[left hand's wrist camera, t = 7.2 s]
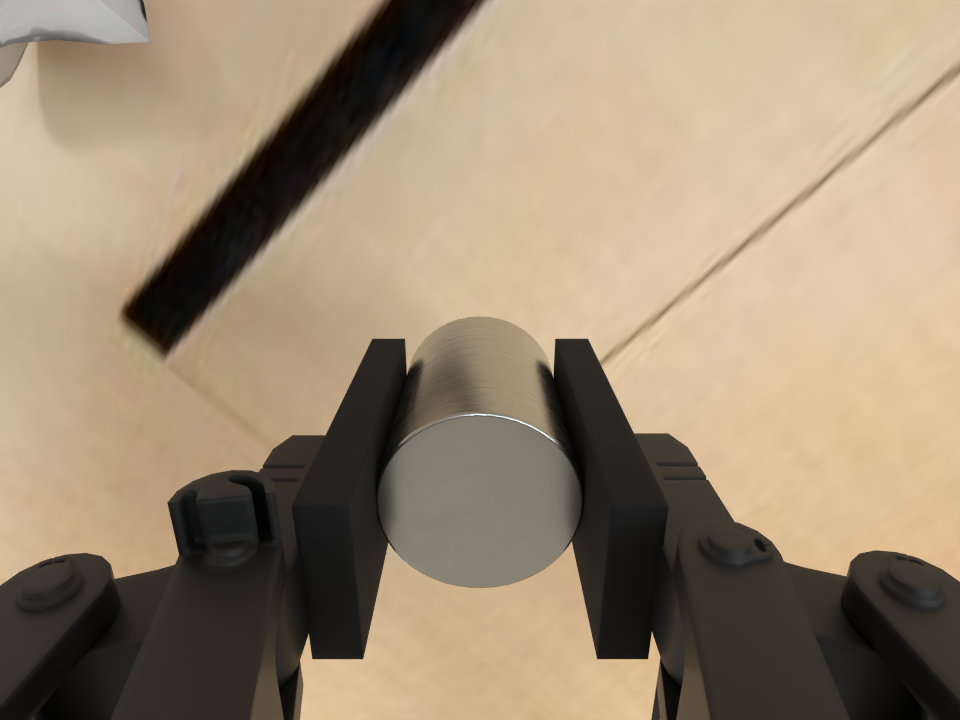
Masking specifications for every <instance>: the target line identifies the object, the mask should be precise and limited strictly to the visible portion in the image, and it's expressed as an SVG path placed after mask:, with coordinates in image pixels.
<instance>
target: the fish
mask: <svg viewBox="0 0 960 720" xmlns="http://www.w3.org/2000/svg"><path fill="white" fill-rule="evenodd" d="M55 39H57V40H67V41H78V42H88V43H98V44H115V43H141V42H150V37H149V31H148V25H147V19H146V13H145V7H144V3H143V1H142V0H0V88H1V87H2V86H3V85H4V84H6V83H7V82H8V81H9V80H10V79H11V77H12V76H13V74H14V72H15V70H16V68H17V66H18V65H19V63H20V60H21V58H22V56H23V54H24V51H25V49H26V47H27V44H28V42H35V41H45V40H55Z"/></svg>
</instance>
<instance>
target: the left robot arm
mask: <svg viewBox="0 0 960 720" xmlns="http://www.w3.org/2000/svg"><path fill="white" fill-rule="evenodd" d="M406 377H407V371H406V350H405V339H372V341H371V343H370V345H369V347H368V349H367V351H366V353H365V355H364V357H363V359H362V362H361V364H360V366H359V368H358V370H357V372H356V374H355V376H354V378H353V380H352V382H351V384H350V386H349V388H348V390H347V393H346V395H345V397H344V399H343V401H342V403H341V405H340V407H339V409H338V411H337V413H336V415H335V417H334V419H333V421H332V423H331V426H330V428H329V430H328V432H327V434H326V435H293V436H291V437H290V438H288V439H287V440H285V441H284V442H283V443H281V444H280V445H278V446H277V447H276V448H274V449H273V450H272V452H271V453H270V455H269V457H268V458H267V460H266V461H265V463H264V465H263V469H260V471H259V473H257V472H254V471H247V470H231V471H226V472H220V473H215V474H211V475H208V476H205V477H203V478H200V479H197V480H195V481H192V482H191V483H189V484H188V485H186V486H185V487H183V488H181V489H180V490H178V491H177V492H176V493H175V494H174V496H173V497H172V498H171V499H170V500H169V502H168V507H169V511H170V516H171V520H172V525H173V529H174V533H175V538H176V542H177V547H178V551H179V557H178V559H177V562H176V564H175V565H173V566H170V567H166V568H162V569H159V570H155V571H150V572H145V573H141V574H136V575H131V576H127V577H122V578H117V579H115V578H114V575H113V571H112V568H111V564H110V563H108V562H107V561H106V560H105V559H104V558H103V557H102V556H98V555H93V554H88V553H81V554H69V555H63V556H59V557H55V558H51V559H48V560H45V561H42V562H39V563H38V564H36V565H33V566H31V567H29V568H27V569H25V570H23V571H21V572H19V573H17V574H16V575H15V576H13V577H12V578H10V579H9V580H8V581H6V582H5V583H3V584H2V585H1V586H0V720H300V713H301V703H302V693H303V679H302V672H301V665H300V658H301V655H302V652H303V649H304V646H305V643H306V640H307V637H308V634H309V637H310V645H311V652H312V659H363V657H364V653H365V648H366V643H367V639H368V634H369V629H370V625H371V620H372V616H373V611H374V606H375V602H376V597H377V592H378V588H379V583H380V578H381V574H382V569H383V564H384V560H385V555H386V551H387V546H388V541H387V539H386V537H385V535H384V533H383V531H382V529H381V527H380V524H379V521H378V517H377V508H376V485H377V481H378V478H379V474H380V470H381V467H382V463H383V460H384V456H385V453H386V449H387V445H388V442H389V438H390V435H391V431H392V428H393V424H394V420H395V417H396V413H397V410H398V406H399V403H400V399H401V395H402V392H403V388H404V385H405V381H406ZM554 382H555V386H556V390H557V393H558V397H559V400H560V404H561V408H562V411H563V415H564V418H565V422H566V425H567V429H568V433H569V436H570V440H571V443H572V447H573V451H574V454H575V458H576V461H577V465H578V468H579V472H580V476H581V479H582V484H583V490H584V507H583V515H582V518H581V522H580V525H579V527H578V530H577V532H576V534H575V536H574V538H573V540H572V544H573V549H574V553H575V558H576V563H577V567H578V572H579V577H580V581H581V586H582V590H583V595H584V600H585V604H586V609H587V614H588V618H589V623H590V628H591V632H592V637H593V641H594V646H595V651H596V655H597V659H648V655H649V648H650V640H651V633H653V636H654V639H655V642H656V645H657V648H658V651H659V654H660V657H661V658H660V665H659V672H658V679H657V686H656V692H655V699H654V706H653V713H652V720H960V582H959V581H958V580H956V579H955V578H953V577H952V576H951V575H949V574H948V573H946V572H945V571H944V570H942V569H940V568H938V567H936V566H934V565H932V564H929V563H927V562H925V561H923V560H921V559H919V558H916V557H913V556H908V555H906V554H901V553H897V552H888V551H876V550H875V551H870V552H865V553H861V554H859V555H858V556H856V557H855V558H854V559H853V560H852V561H851V562H850V566H849V570H848V573H847V577H846V576H841V575H837V574H832V573H827V572H823V571H818V570H813V569H808V568H804V567H800V566H797V565H793V564H790V563H786V562H784V561H783V558H782V556H781V554H780V553H779V551H778V550H777V548H776V547H775V546H774V544H773V543H772V542H771V541H770V540H769V539H767V538H766V537H765V536H763V535H762V534H761V533H759V532H758V531H756V530H754V529H751V528H749V527H747V526H745V525H742V524H740V523H736V522H734V520H733V519H732V517H731V516H730V514H729V512H728V511H727V509H726V508H725V506H724V504H723V503H722V501H721V500H720V498H719V496H718V495H717V493H716V492H715V490H714V488H713V487H712V485H711V484H710V482H709V480H706V476H705V474H704V473H703V471H702V469H701V468H700V467H698V463H697V461H696V460H695V458H694V457H693V455H692V453H691V452H690V450H689V449H688V447H687V446H685V445H684V444H682V443H681V442H679V441H678V440H677V439H675V438H674V437H672V436H671V435H669V434H634V433H633V431H632V429H631V427H630V425H629V423H628V420H627V418H626V416H625V414H624V412H623V410H622V408H621V406H620V404H619V402H618V400H617V398H616V396H615V394H614V392H613V390H612V387H611V385H610V383H609V381H608V379H607V377H606V375H605V373H604V371H603V369H602V367H601V365H600V363H599V361H598V359H597V357H596V354H595V352H594V350H593V348H592V346H591V344H590V342H589V340H588V339H555V358H554Z"/></svg>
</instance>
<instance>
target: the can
mask: <svg viewBox="0 0 960 720" xmlns="http://www.w3.org/2000/svg"><path fill="white" fill-rule="evenodd" d="M583 507H584V490H583V484H582V479H581V476H580V472H579V468H578V465H577V461H576V458H575V454H574V451H573V447H572V443H571V440H570V436H569V433H568V429H567V425H566V422H565V418H564V415H563V411H562V408H561V404H560V400H559V397H558V393H557V390H556V386H555V382H554V379H553V375H552V372H551V368H550V365H549V362H548V359H547V357H546V355H545V353H544V351H543V350H542V348H541V347H540V345H539V344H538V343H537V342H536V341H535V340H534V338H533V337H532V336H530V335H529V334H528V333H527V332H526V331H524V330H523V329H521V328H519V327H518V326H516V325H514V324H512V323H510V322H507V321H504V320H501V319H497V318H491V317H467V318H463V319H458V320H455V321H453V322H450V323H448V324H446V325H444V326H442V327H440V328H438V329H437V330H435V331H434V332H432V333H431V334H430V335H429V336H428V337H427V338H426V339H425V340H424V341H423V342H422V343H421V345H420V346H419V347H418V349H417V351H416V352H415V354H414V356H413V358H412V361H411V363H410V367H409V370H408V374H407V377H406V381H405V385H404V388H403V392H402V395H401V399H400V403H399V406H398V410H397V413H396V417H395V420H394V424H393V428H392V431H391V435H390V438H389V442H388V445H387V449H386V453H385V456H384V460H383V463H382V467H381V470H380V474H379V478H378V481H377V485H376V508H377V517H378V521H379V524H380V527H381V529H382V531H383V533H384V535H385V537H386V539H387V541H388V542H389V544H390V545H391V547H392V548H393V549H394V551H395V552H396V553H397V554H398V555H399V556H400V557H401V558H402V559H403V560H404V561H405V562H407V563H408V564H409V565H410V566H411V567H413V568H415V569H416V570H418V571H419V572H421V573H422V574H425V575H427V576H429V577H431V578H433V579H435V580H438V581H441V582H444V583H447V584H451V585H456V586H462V587H469V588H488V587H498V586H503V585H508V584H512V583H515V582H519V581H521V580H524V579H526V578H529V577H531V576H533V575H535V574H537V573H538V572H540V571H542V570H543V569H545V568H546V567H548V566H549V565H550V564H552V563H553V562H554V561H555V560H556V559H557V558H558V557H559V556H561V554H562V553H563V552H564V551H565V550H566V548H567V547H568V546H569V544H570V543H571V541H572V540H573V538H574V536H575V534H576V532H577V530H578V527H579V525H580V522H581V518H582V515H583Z"/></svg>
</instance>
